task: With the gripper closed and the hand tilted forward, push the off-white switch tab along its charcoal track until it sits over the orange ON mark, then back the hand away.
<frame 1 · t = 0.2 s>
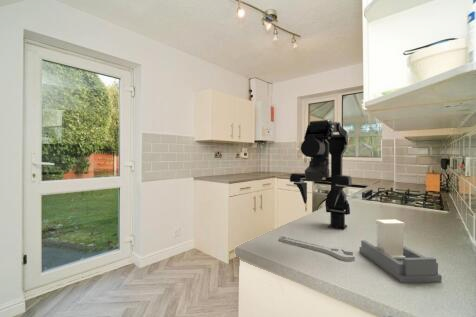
hand: (319, 205, 76), 14 cm above the worktop, tool pointing down, fingers open, 9 cm apart
switch tab: (390, 238, 67), point 7 cm above the worktop, slide at 0.0 cm
adjustable wrench: (315, 249, 77), on the worktop
switch housing: (394, 264, 65), on the worktop
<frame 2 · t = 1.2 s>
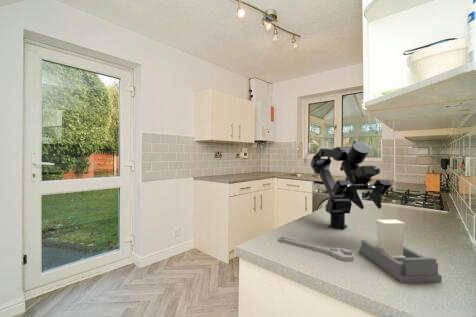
hand: (371, 208, 75), 14 cm above the worktop, tool tilted 45°, fingers open, 6 cm apart
nothing on the worktop moved.
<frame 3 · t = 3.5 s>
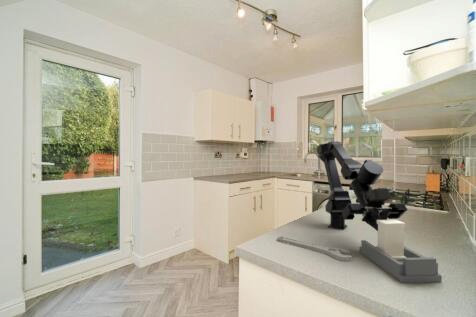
hand: (386, 236, 68), 7 cm above the worktop, tool tilted 45°, fingers closed, pressing on switch tab
switch tab: (390, 238, 66), point 7 cm above the worktop, slide at 0.2 cm, touching gripper
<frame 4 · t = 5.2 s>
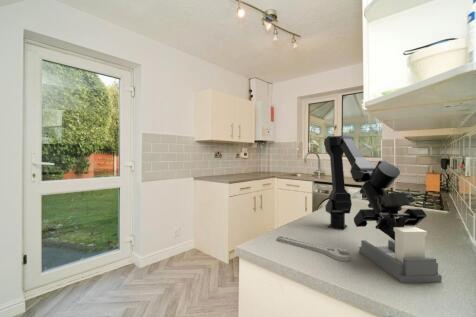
hand: (404, 246, 61), 7 cm above the worktop, tool tilted 45°, fingers closed, pressing on switch tab
switch tab: (409, 248, 59), point 7 cm above the worktop, slide at 7.2 cm, touching gripper
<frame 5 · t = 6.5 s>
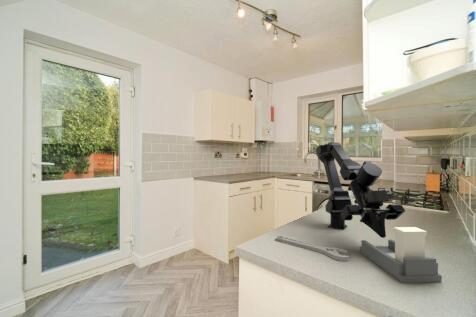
hand: (383, 237, 69), 6 cm above the worktop, tool tilted 45°, fingers closed
switch tab: (409, 248, 59), point 7 cm above the worktop, slide at 7.2 cm
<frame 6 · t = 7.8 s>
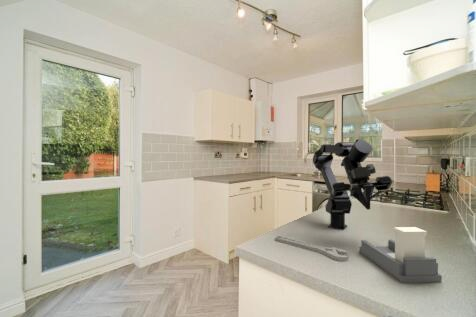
hand: (368, 209, 76), 13 cm above the worktop, tool tilted 35°, fingers closed
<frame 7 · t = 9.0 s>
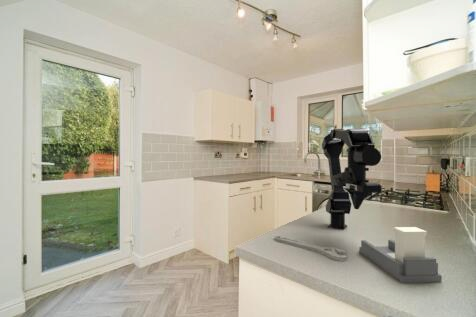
hand: (356, 209, 81), 12 cm above the worktop, tool pointing down, fingers closed
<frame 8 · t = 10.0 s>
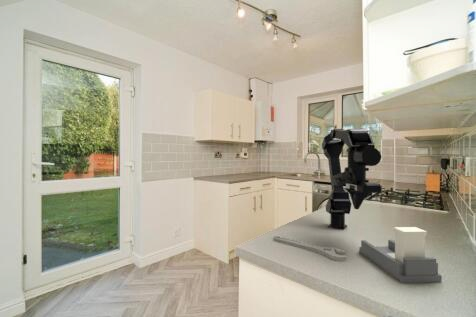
hand: (356, 209, 81), 12 cm above the worktop, tool pointing down, fingers closed
at the end: switch tab slide at 7.2 cm; adjustable wrench moved 2.4 cm from its start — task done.
